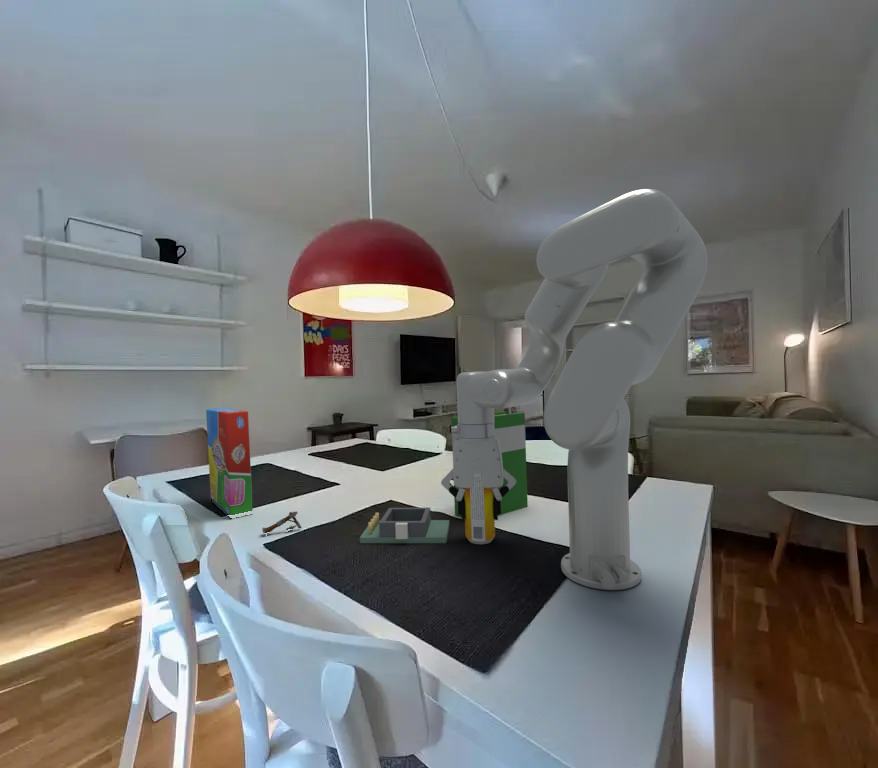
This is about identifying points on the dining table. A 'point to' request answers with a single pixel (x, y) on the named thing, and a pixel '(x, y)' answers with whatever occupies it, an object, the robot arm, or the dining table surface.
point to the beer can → (479, 512)
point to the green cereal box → (508, 458)
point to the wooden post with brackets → (292, 515)
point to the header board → (406, 527)
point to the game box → (229, 459)
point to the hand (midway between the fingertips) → (479, 517)
